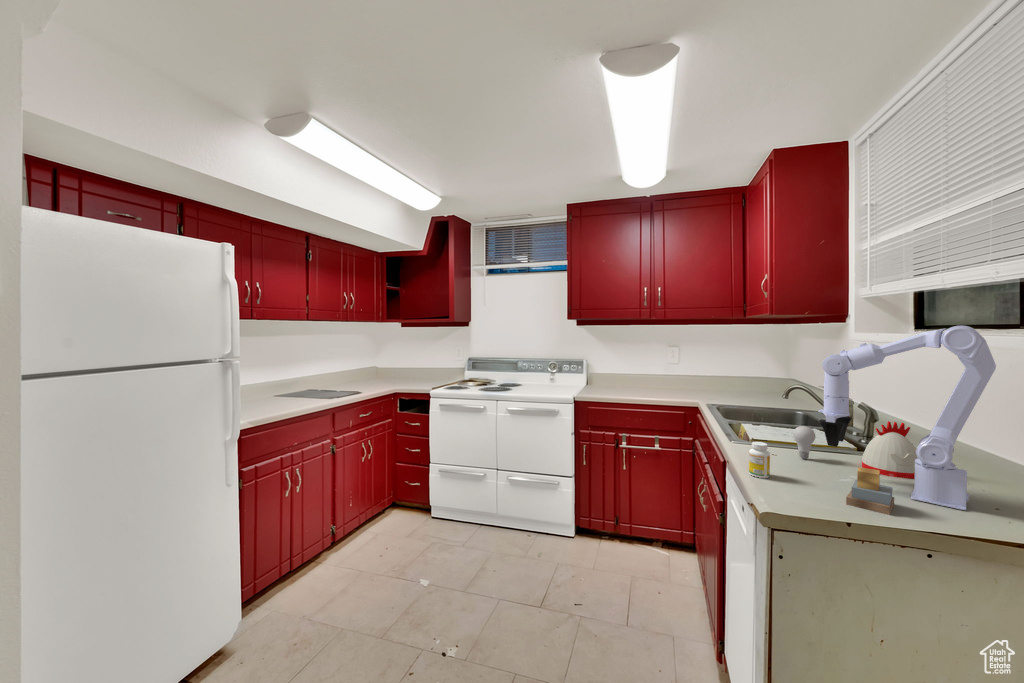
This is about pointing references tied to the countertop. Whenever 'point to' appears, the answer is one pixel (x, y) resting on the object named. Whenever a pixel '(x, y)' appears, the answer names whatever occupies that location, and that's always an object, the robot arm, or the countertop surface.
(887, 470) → the kitchen timer
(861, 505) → the tower base
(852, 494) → the tower top
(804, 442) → the lightbulb
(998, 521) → the countertop surface
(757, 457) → the supplement bottle
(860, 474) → the ochre cube
